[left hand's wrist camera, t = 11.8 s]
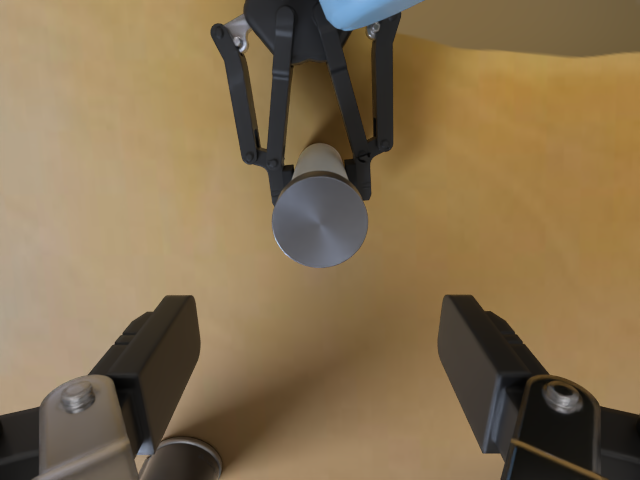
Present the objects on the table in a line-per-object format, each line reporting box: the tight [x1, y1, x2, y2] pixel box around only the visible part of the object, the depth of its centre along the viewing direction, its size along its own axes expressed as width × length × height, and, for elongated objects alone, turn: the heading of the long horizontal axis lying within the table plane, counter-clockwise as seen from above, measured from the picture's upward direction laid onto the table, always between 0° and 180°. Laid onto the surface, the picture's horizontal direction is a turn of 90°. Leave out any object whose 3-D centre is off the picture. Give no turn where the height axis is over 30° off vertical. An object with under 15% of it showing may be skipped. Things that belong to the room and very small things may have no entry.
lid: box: [272, 171, 368, 268], centre depth 21 cm, size 5×5×2 cm
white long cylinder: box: [292, 143, 348, 180], centre depth 29 cm, size 4×4×18 cm
